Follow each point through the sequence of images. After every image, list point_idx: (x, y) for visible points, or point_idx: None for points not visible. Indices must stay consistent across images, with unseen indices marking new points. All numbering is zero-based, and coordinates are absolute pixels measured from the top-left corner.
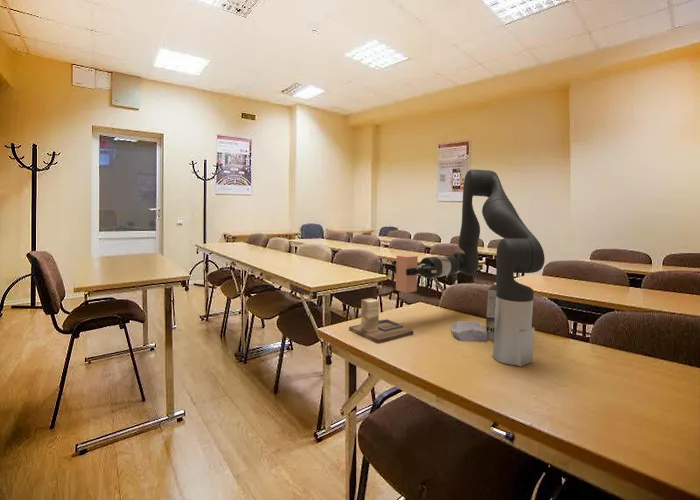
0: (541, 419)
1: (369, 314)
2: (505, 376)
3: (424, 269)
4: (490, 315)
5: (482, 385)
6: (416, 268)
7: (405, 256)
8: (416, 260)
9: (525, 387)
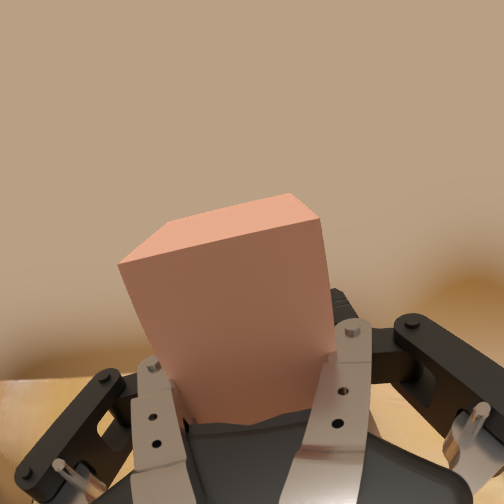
0: (8, 390)
1: None
2: (20, 439)
3: (92, 388)
4: None
5: (43, 405)
6: (154, 358)
7: (201, 216)
8: (142, 304)
9: (6, 427)
